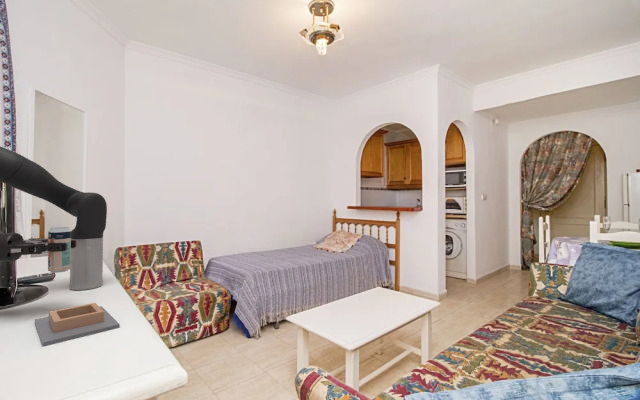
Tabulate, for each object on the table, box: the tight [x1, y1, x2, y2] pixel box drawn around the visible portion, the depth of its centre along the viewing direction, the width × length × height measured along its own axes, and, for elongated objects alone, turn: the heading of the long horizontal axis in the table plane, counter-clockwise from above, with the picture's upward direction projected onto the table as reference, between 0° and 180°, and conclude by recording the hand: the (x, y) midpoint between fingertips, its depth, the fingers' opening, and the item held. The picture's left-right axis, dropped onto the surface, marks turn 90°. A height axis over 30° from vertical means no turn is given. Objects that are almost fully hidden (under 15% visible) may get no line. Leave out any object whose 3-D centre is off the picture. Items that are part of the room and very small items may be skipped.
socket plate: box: [34, 302, 120, 347], centre depth 77 cm, size 18×14×3 cm
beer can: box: [47, 226, 72, 274], centre depth 86 cm, size 5×5×12 cm
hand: (71, 245), depth 87 cm, fingers closed on beer can, 4 cm apart
